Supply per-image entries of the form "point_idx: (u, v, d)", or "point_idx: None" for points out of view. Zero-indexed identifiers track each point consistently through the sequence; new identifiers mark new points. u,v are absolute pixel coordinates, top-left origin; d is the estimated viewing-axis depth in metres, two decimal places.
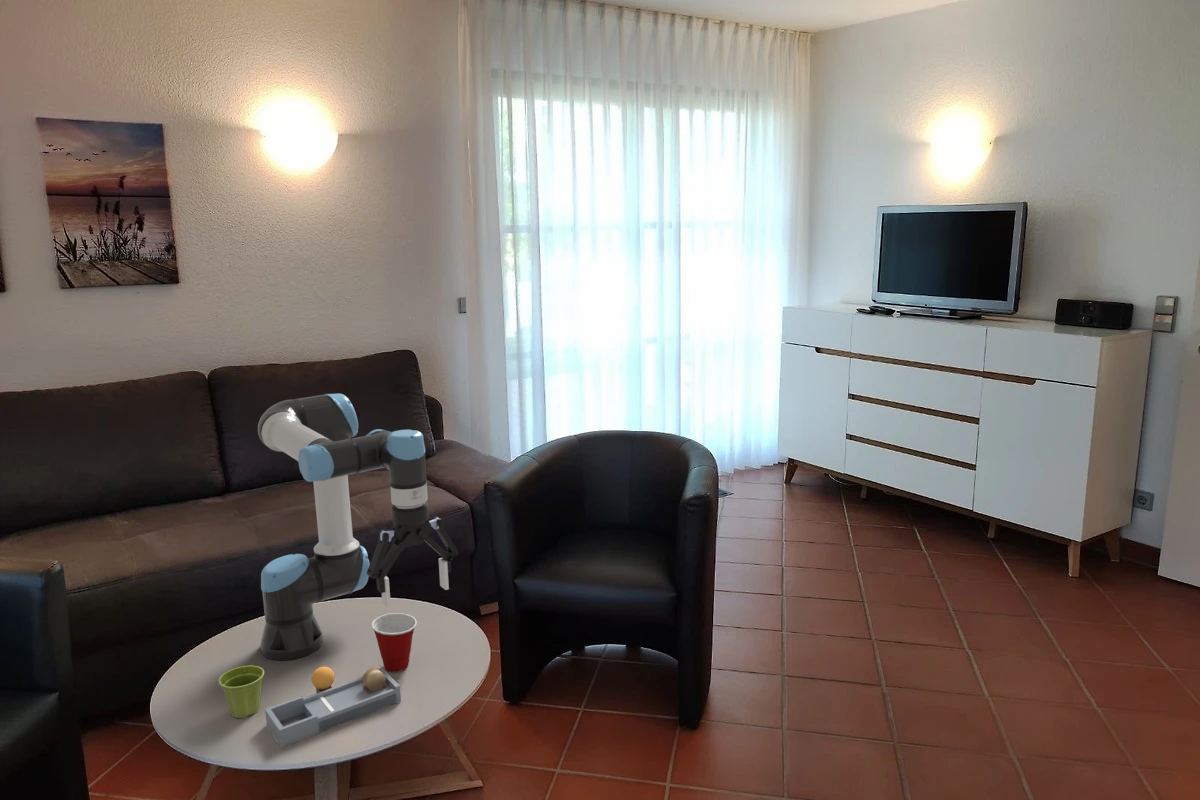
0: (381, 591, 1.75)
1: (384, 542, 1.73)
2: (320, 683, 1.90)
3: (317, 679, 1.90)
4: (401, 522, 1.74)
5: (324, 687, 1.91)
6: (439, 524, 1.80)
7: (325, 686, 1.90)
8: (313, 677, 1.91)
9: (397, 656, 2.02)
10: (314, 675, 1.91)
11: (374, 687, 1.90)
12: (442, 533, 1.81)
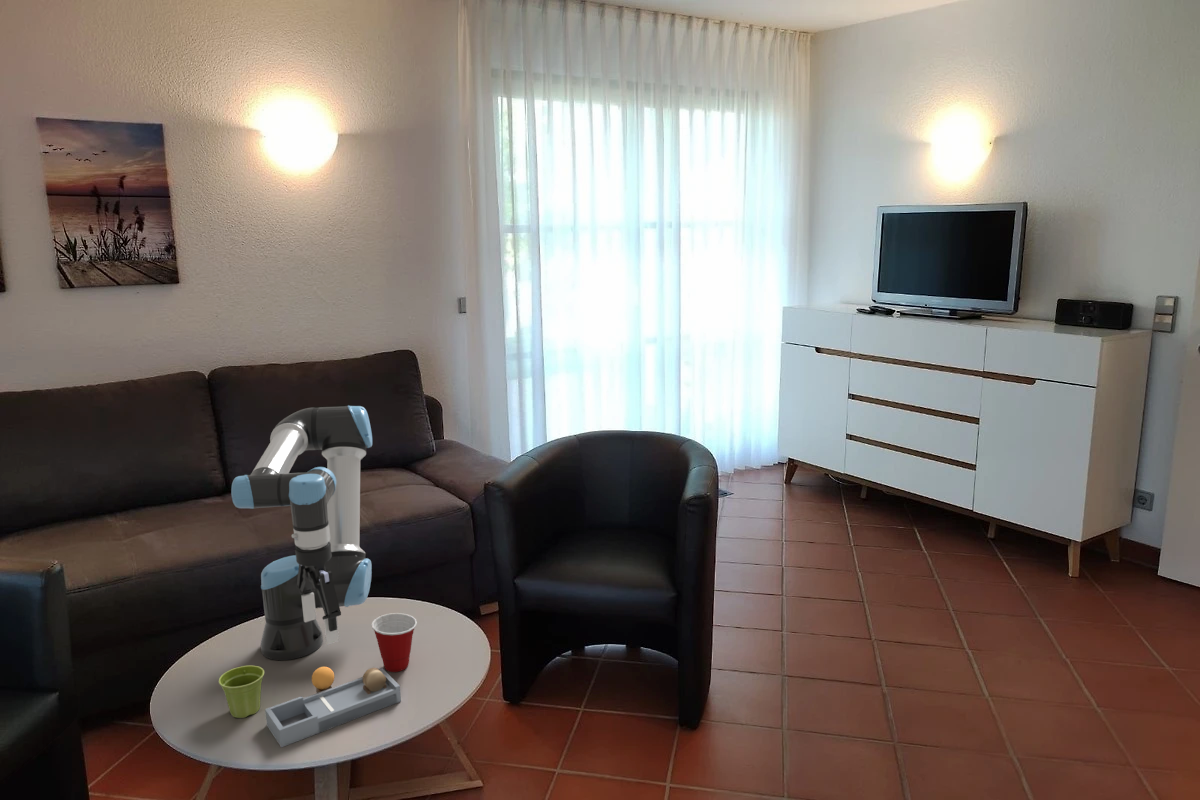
0: None
1: (299, 563, 1.91)
2: (320, 683, 1.90)
3: (317, 679, 1.90)
4: None
5: (324, 687, 1.91)
6: (319, 578, 1.81)
7: (325, 686, 1.90)
8: (313, 677, 1.91)
9: (397, 656, 2.02)
10: (314, 675, 1.91)
11: (374, 687, 1.90)
12: (321, 588, 1.81)
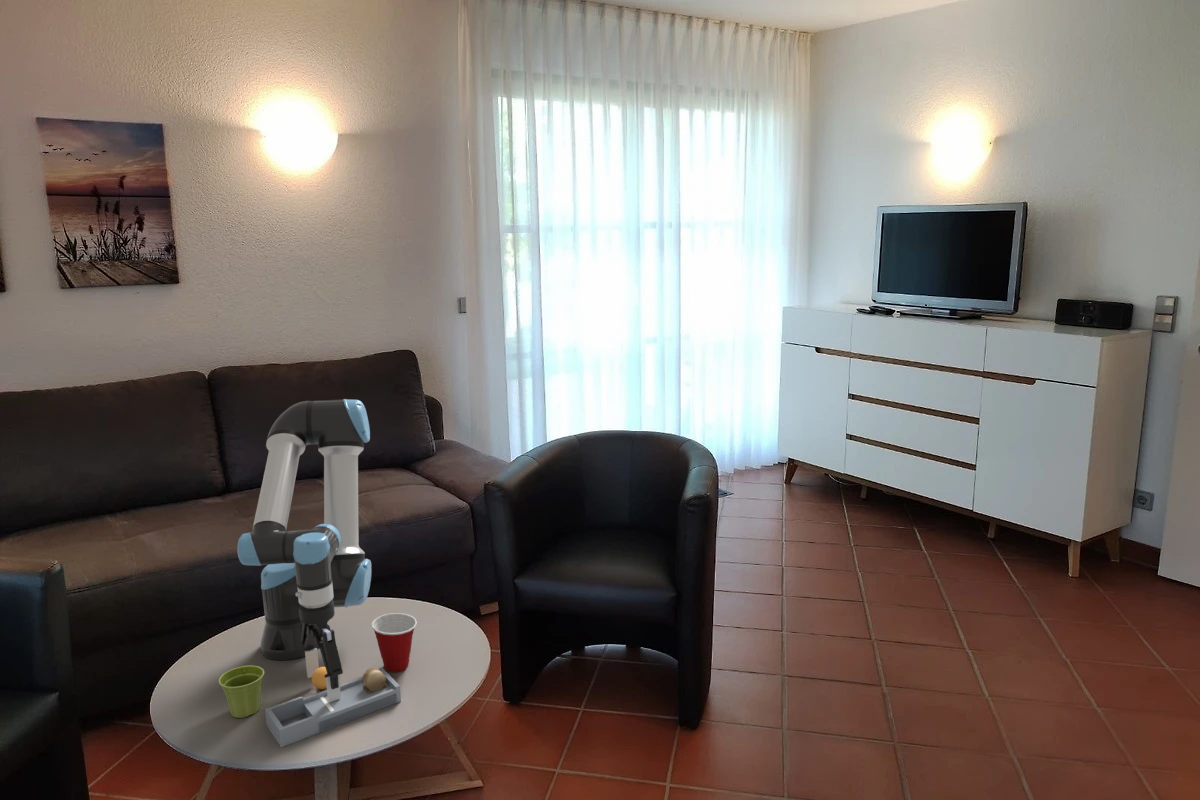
0: None
1: None
2: (320, 683, 1.90)
3: (317, 679, 1.90)
4: None
5: (324, 687, 1.91)
6: (322, 636, 1.84)
7: (325, 686, 1.90)
8: (313, 677, 1.91)
9: (397, 656, 2.02)
10: (314, 675, 1.91)
11: (374, 687, 1.90)
12: (324, 647, 1.84)
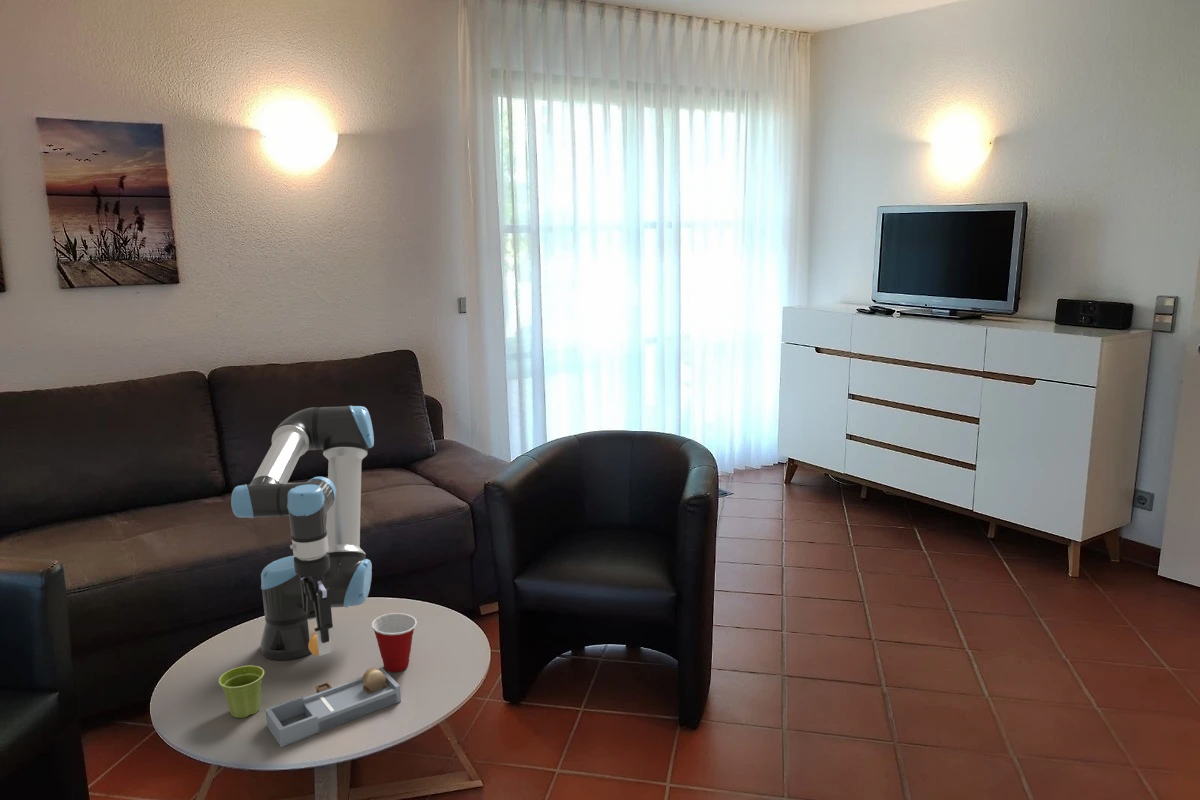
0: None
1: (300, 580, 1.92)
2: (316, 650, 1.88)
3: (314, 646, 1.88)
4: None
5: None
6: (317, 593, 1.82)
7: None
8: (310, 643, 1.89)
9: (397, 656, 2.02)
10: (311, 641, 1.89)
11: (374, 687, 1.90)
12: (318, 602, 1.83)
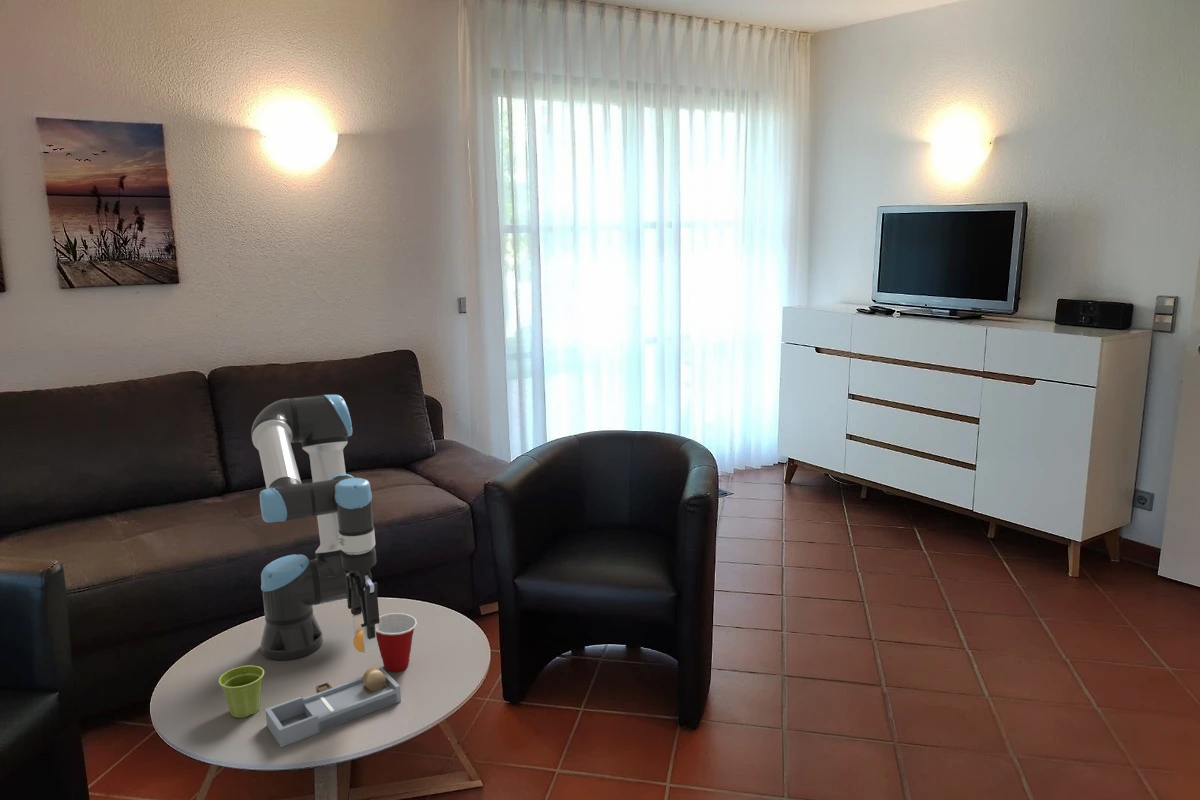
0: None
1: (345, 576, 1.89)
2: (362, 647, 1.86)
3: (360, 642, 1.86)
4: None
5: None
6: (365, 588, 1.80)
7: None
8: (355, 639, 1.87)
9: (397, 656, 2.02)
10: (357, 637, 1.87)
11: (374, 687, 1.90)
12: (365, 597, 1.81)
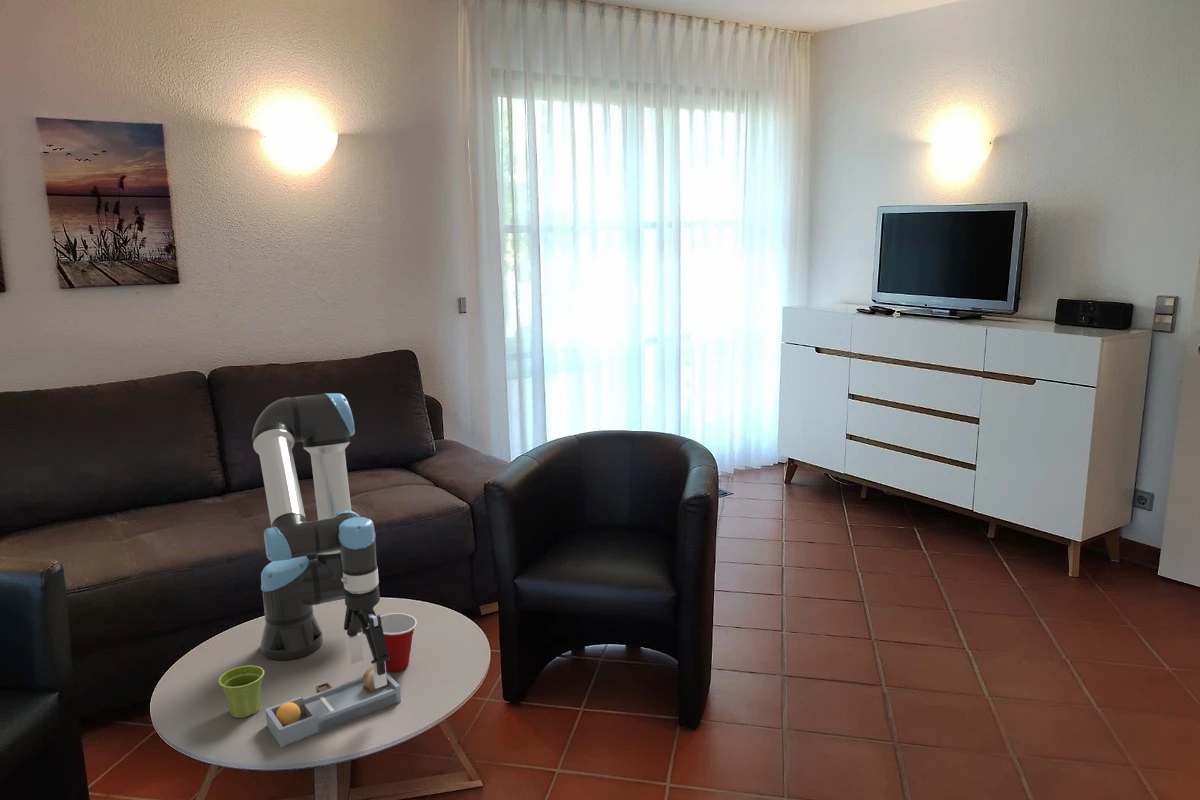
0: None
1: None
2: None
3: None
4: None
5: (298, 717, 1.81)
6: (368, 622, 1.82)
7: (297, 717, 1.81)
8: None
9: (397, 656, 2.02)
10: None
11: None
12: (370, 632, 1.82)
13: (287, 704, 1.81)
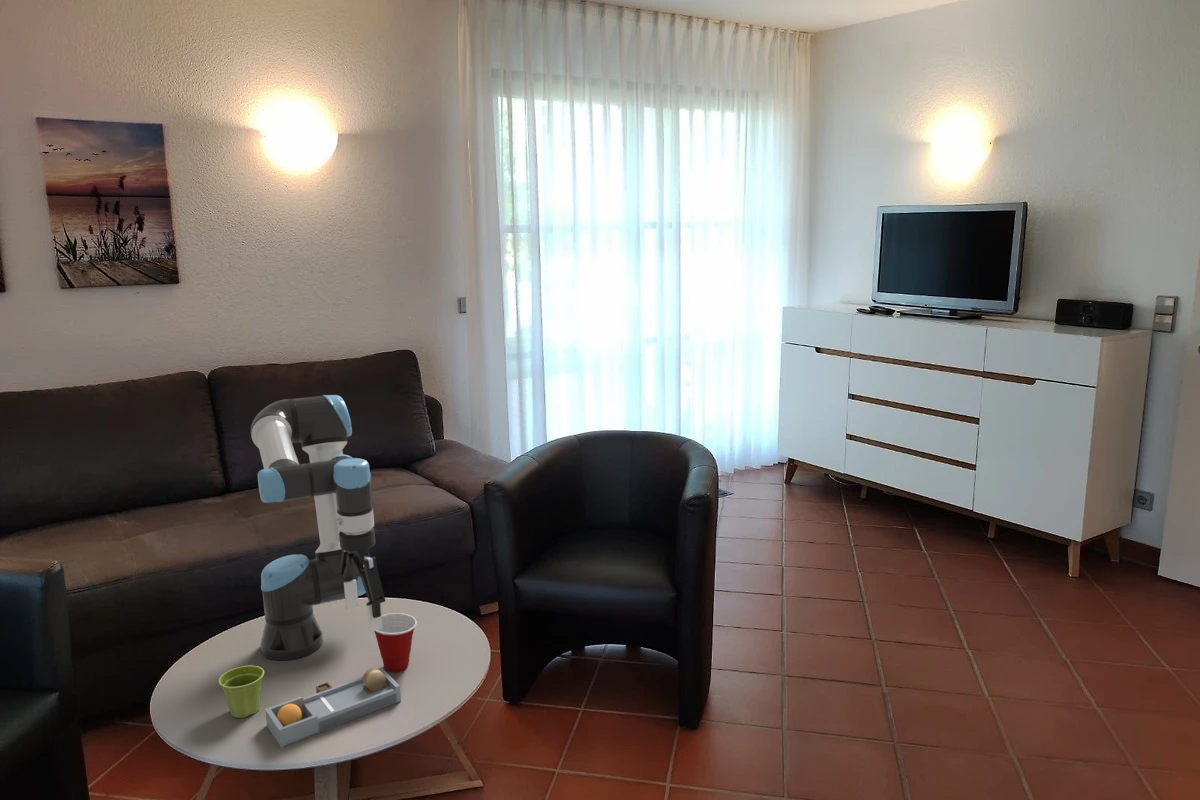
0: None
1: (342, 550, 1.89)
2: None
3: None
4: None
5: (299, 720, 1.81)
6: (363, 563, 1.79)
7: None
8: None
9: (397, 656, 2.02)
10: None
11: (374, 687, 1.90)
12: (366, 574, 1.79)
13: (289, 707, 1.80)
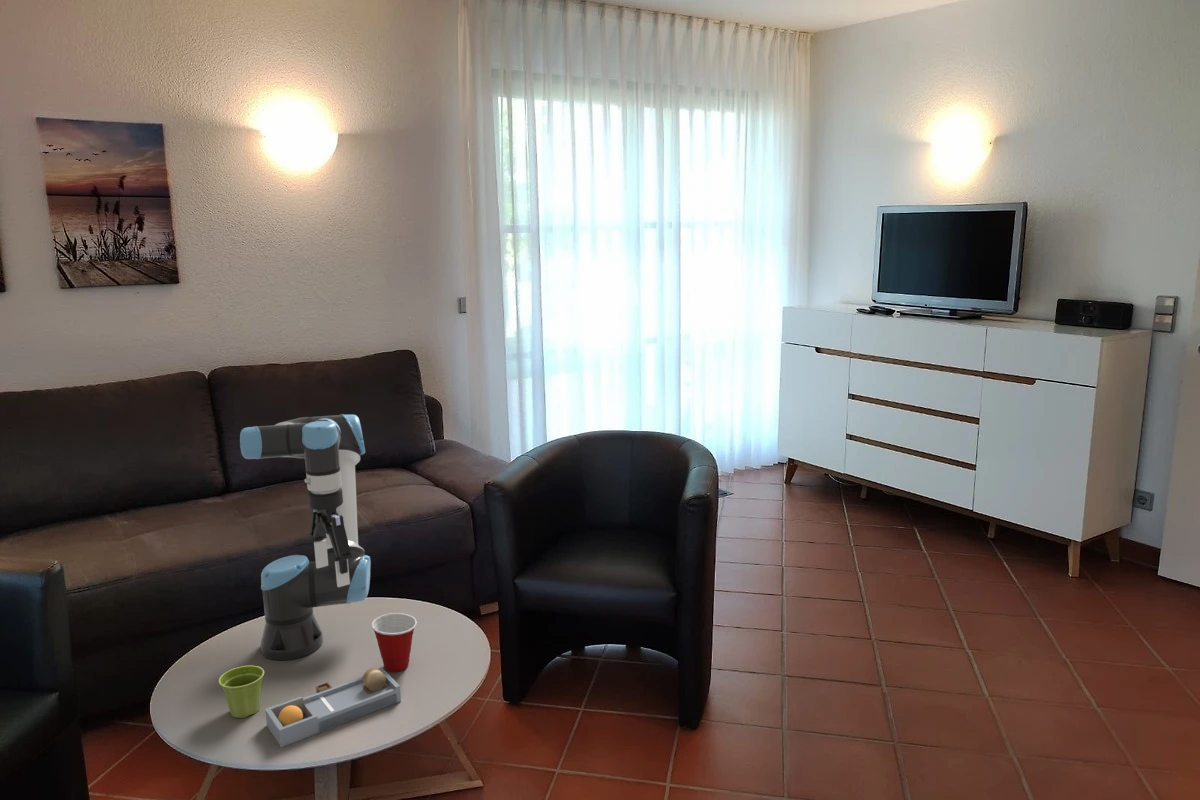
0: None
1: None
2: None
3: None
4: None
5: None
6: (331, 521, 1.87)
7: None
8: None
9: (397, 656, 2.02)
10: None
11: (374, 687, 1.90)
12: (333, 531, 1.87)
13: (291, 711, 1.79)
